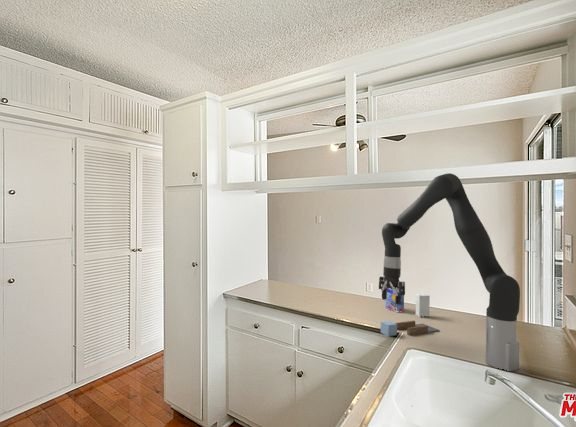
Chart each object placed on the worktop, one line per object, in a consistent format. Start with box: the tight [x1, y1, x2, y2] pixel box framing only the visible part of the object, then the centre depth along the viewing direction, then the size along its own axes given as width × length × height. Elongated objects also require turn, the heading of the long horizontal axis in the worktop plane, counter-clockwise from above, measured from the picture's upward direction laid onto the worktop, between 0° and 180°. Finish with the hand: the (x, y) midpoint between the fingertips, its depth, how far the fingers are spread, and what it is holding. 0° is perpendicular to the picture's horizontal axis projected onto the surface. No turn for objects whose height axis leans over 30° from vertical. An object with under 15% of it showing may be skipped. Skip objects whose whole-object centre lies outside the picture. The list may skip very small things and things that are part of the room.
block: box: [380, 320, 398, 337], centre depth 142 cm, size 5×5×5 cm
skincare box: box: [415, 293, 431, 317], centre depth 172 cm, size 6×4×12 cm
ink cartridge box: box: [385, 288, 405, 312], centre depth 183 cm, size 10×6×14 cm, turn 25°
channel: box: [394, 320, 429, 336], centre depth 147 cm, size 8×12×3 cm
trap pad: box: [415, 323, 441, 333], centre depth 151 cm, size 10×6×1 cm, turn 25°
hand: (390, 301), depth 142 cm, fingers open, 8 cm apart
